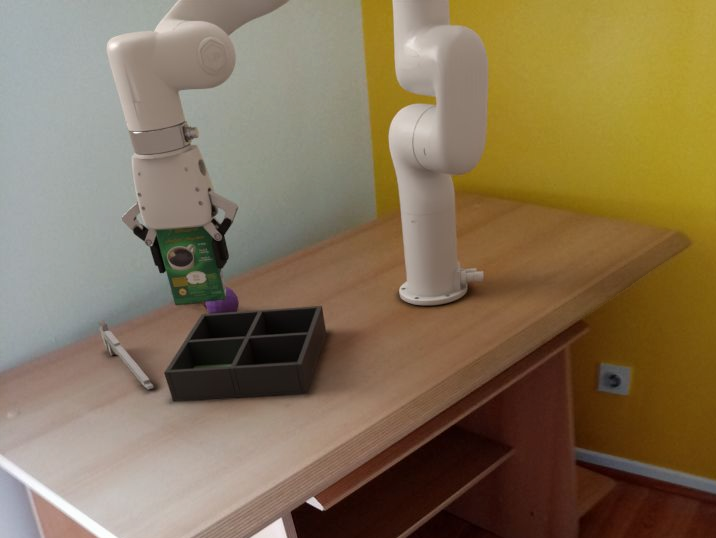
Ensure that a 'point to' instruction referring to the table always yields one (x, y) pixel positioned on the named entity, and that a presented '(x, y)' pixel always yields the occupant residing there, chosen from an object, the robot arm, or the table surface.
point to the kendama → (223, 303)
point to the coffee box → (191, 265)
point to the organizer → (248, 354)
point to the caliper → (122, 354)
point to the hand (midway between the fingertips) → (193, 267)
